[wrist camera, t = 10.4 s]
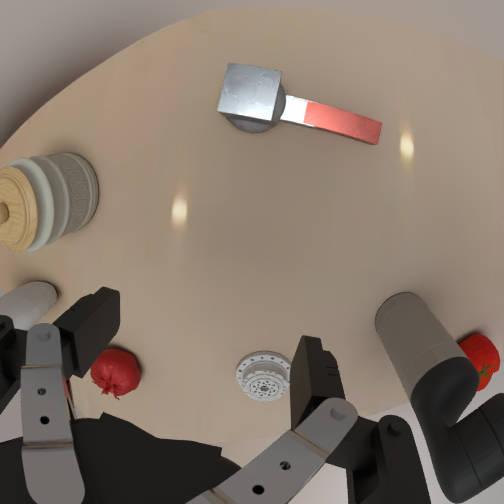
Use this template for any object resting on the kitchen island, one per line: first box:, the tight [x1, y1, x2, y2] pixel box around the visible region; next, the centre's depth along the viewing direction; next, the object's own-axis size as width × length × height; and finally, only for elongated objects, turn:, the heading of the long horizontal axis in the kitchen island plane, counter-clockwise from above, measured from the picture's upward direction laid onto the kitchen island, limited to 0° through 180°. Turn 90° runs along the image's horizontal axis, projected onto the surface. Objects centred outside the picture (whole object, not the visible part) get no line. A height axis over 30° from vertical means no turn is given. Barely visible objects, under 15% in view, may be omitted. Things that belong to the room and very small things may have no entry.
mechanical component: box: [236, 351, 291, 402], centre depth 48 cm, size 10×4×10 cm
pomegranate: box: [91, 349, 141, 400], centre depth 48 cm, size 10×10×9 cm
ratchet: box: [227, 84, 382, 145], centre depth 33 cm, size 20×8×7 cm, turn 79°
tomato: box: [459, 334, 500, 391], centre depth 42 cm, size 11×12×9 cm
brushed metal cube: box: [217, 63, 282, 126], centre depth 30 cm, size 6×6×6 cm
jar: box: [0, 153, 98, 252], centre depth 33 cm, size 13×13×18 cm
